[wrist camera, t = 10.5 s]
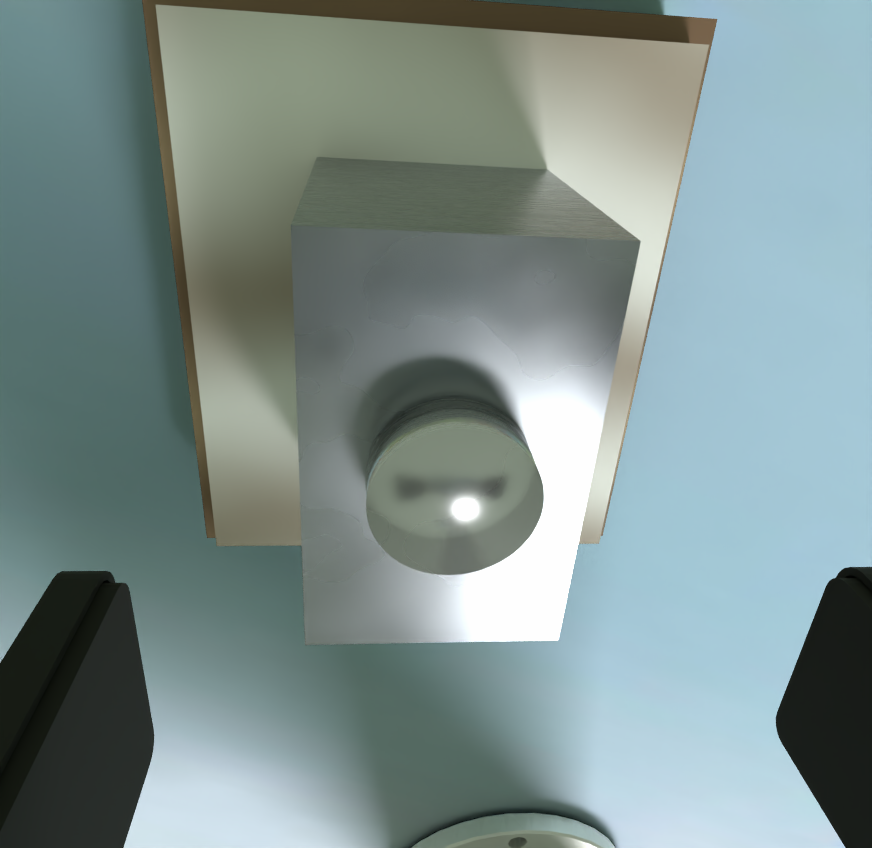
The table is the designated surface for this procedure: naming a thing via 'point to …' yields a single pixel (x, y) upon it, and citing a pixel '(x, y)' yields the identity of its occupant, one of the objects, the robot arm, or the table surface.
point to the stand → (389, 141)
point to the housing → (448, 395)
